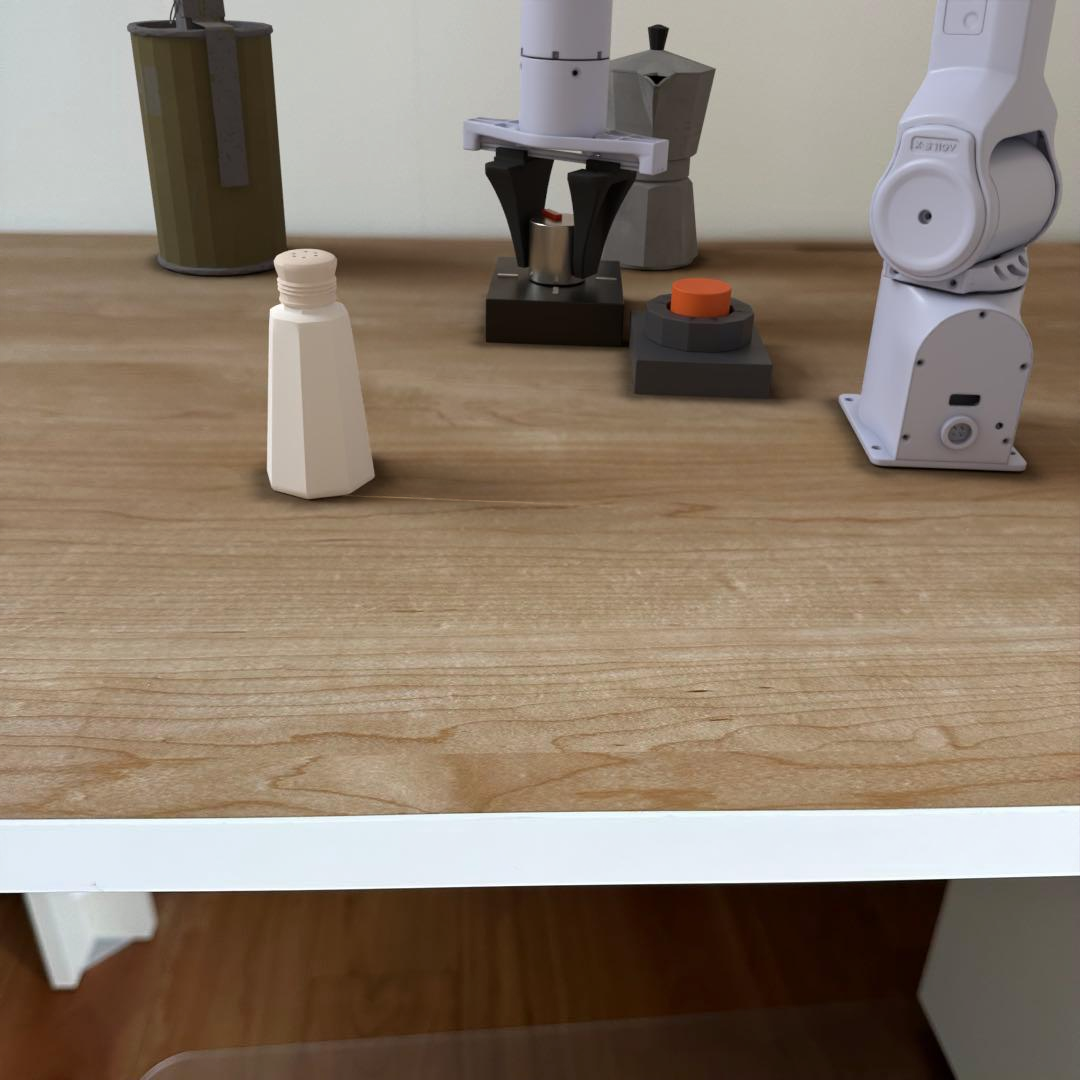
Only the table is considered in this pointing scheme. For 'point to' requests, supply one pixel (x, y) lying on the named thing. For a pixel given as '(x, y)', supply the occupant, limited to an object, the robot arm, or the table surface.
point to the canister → (211, 139)
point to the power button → (701, 297)
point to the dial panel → (555, 308)
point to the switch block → (698, 353)
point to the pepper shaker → (314, 384)
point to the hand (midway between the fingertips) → (557, 269)
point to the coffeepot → (676, 115)
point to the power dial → (551, 248)
